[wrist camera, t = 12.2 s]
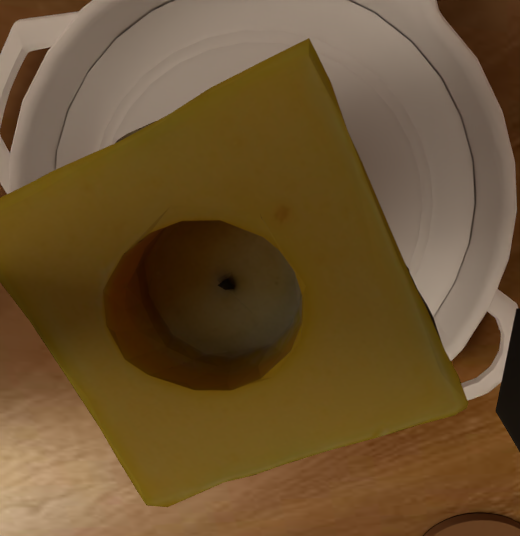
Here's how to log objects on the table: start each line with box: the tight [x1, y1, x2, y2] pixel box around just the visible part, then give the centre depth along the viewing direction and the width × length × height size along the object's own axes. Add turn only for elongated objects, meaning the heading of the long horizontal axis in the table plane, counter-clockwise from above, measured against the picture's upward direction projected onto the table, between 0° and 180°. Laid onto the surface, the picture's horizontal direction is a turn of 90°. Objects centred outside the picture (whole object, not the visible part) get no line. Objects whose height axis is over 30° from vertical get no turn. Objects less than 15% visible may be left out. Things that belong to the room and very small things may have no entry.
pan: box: [0, 0, 518, 400], centre depth 24 cm, size 24×27×4 cm
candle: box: [0, 38, 468, 507], centre depth 17 cm, size 10×10×10 cm
